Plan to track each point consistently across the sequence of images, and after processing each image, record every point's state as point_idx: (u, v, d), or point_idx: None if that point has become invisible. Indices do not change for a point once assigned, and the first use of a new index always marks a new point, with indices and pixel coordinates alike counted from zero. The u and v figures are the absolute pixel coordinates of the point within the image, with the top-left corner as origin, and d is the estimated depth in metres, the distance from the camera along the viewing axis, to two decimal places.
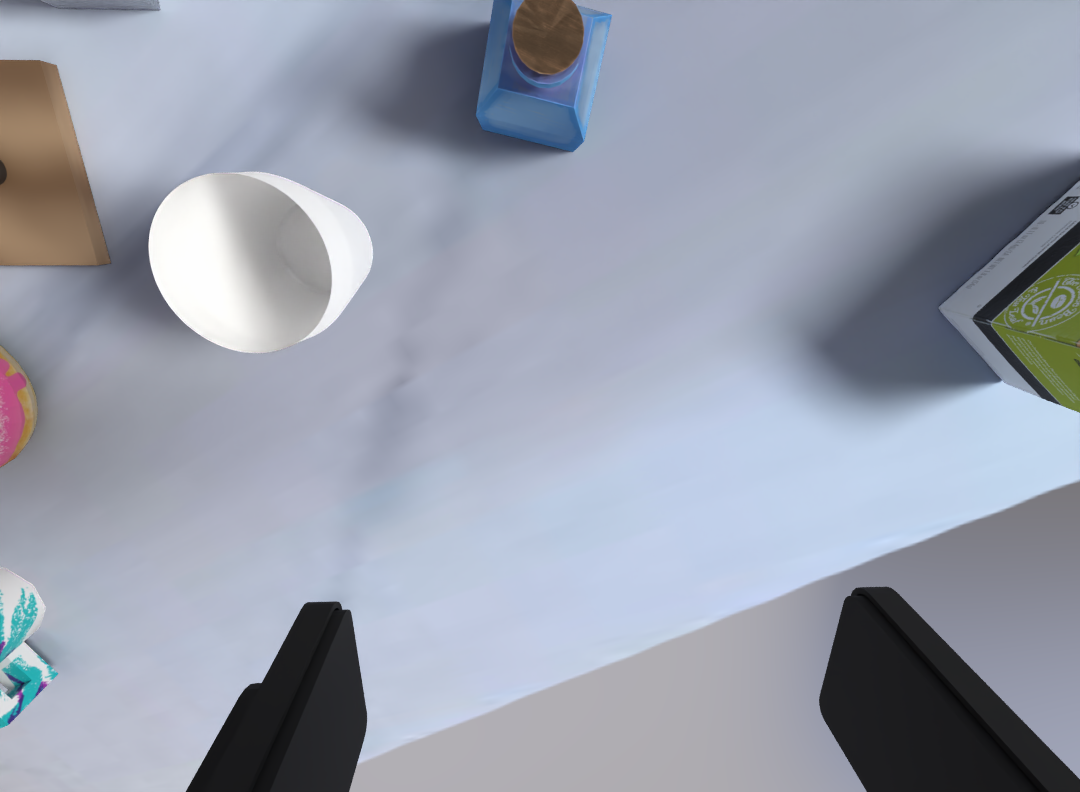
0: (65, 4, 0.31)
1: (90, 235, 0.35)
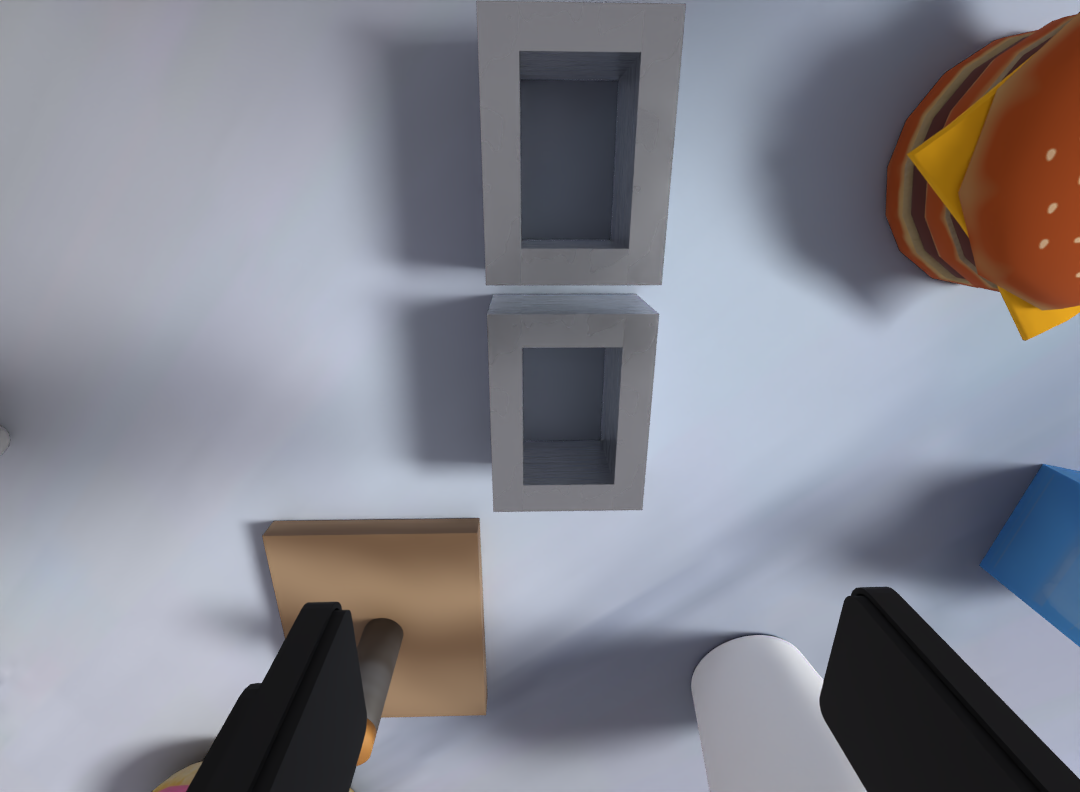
0: None
1: (484, 687, 0.28)
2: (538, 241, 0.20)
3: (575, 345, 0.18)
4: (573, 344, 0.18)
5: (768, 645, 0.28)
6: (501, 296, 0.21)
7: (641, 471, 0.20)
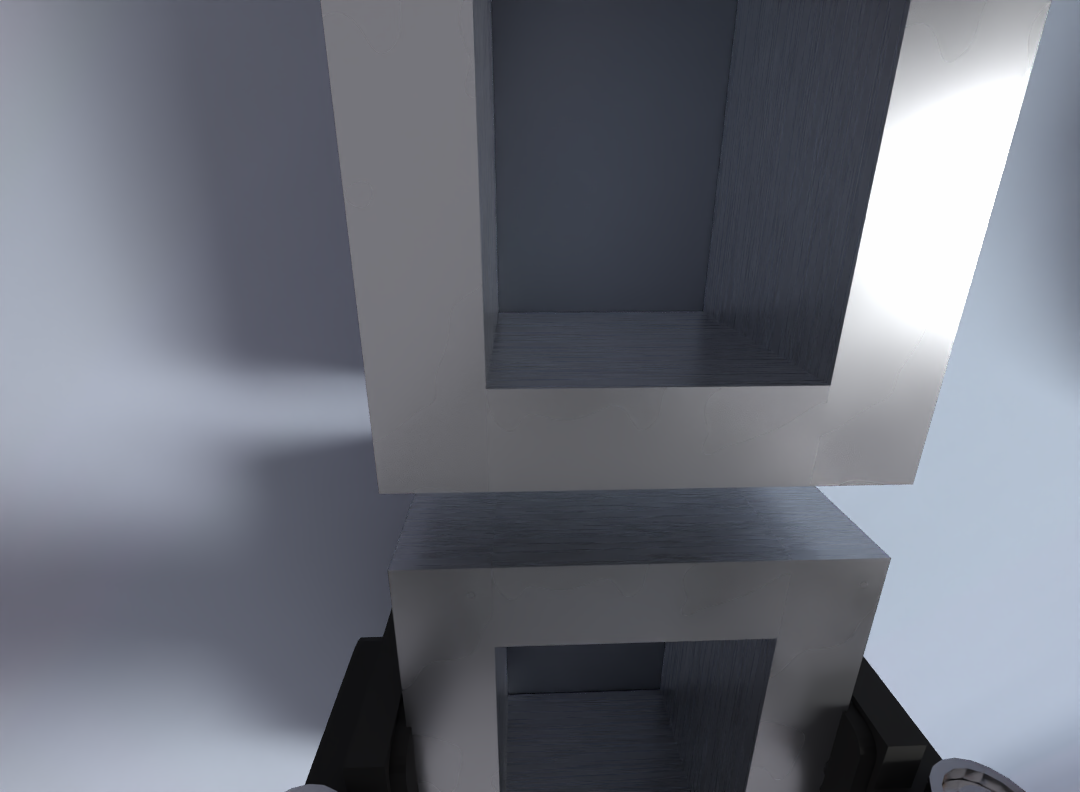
0: None
1: None
2: (538, 324, 0.08)
3: (646, 637, 0.07)
4: (640, 636, 0.07)
5: None
6: None
7: None
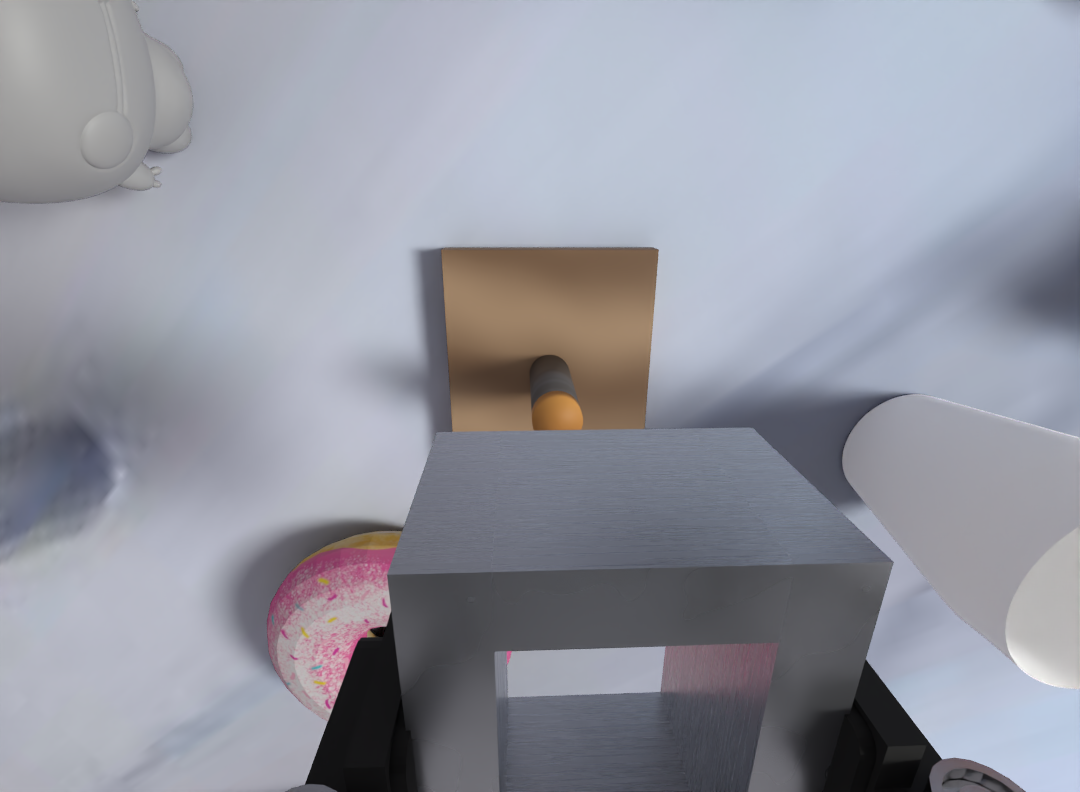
0: None
1: None
2: None
3: (646, 641, 0.07)
4: (640, 641, 0.06)
5: (931, 397, 0.27)
6: (453, 443, 0.09)
7: None
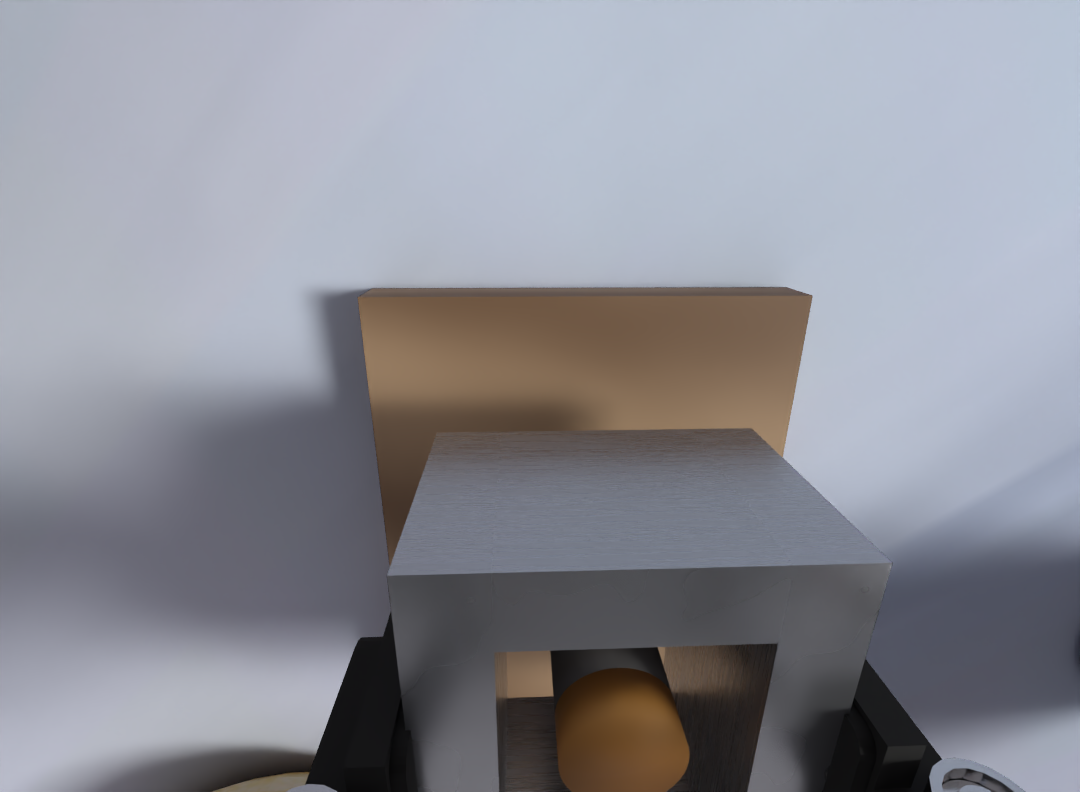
0: None
1: None
2: None
3: (646, 642, 0.07)
4: (640, 641, 0.07)
5: None
6: (453, 443, 0.09)
7: None
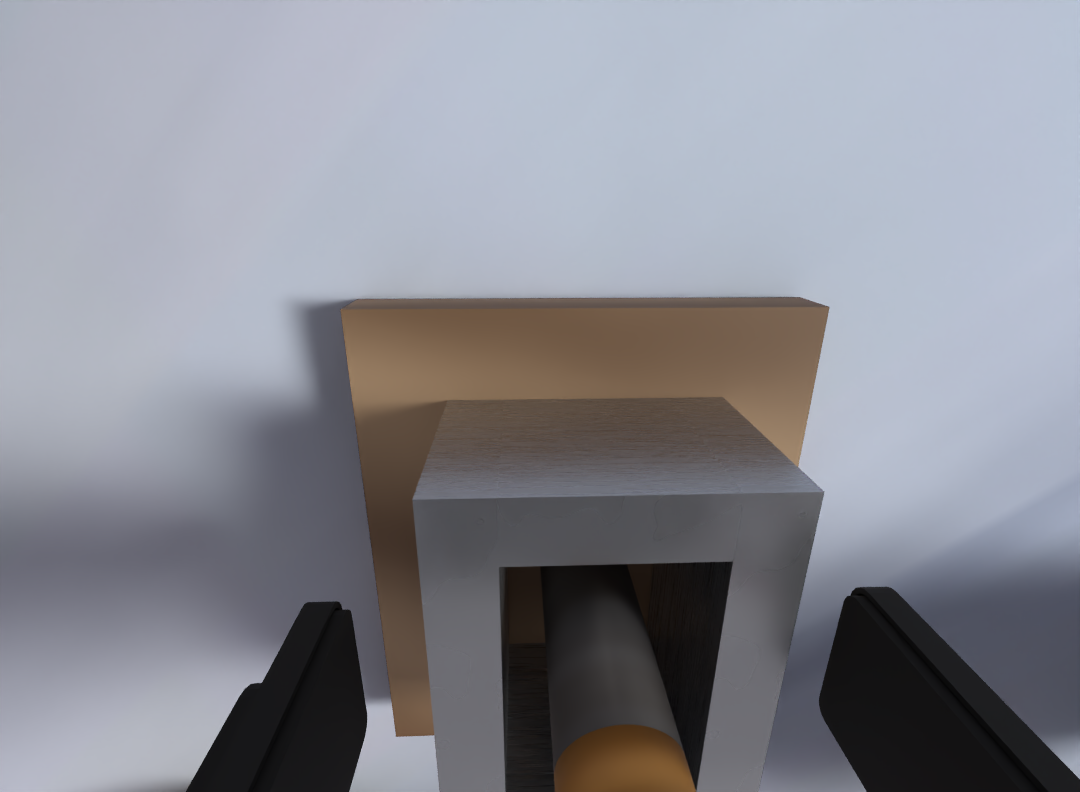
0: None
1: None
2: None
3: (624, 559, 0.08)
4: (618, 559, 0.08)
5: None
6: (462, 408, 0.11)
7: (752, 781, 0.10)
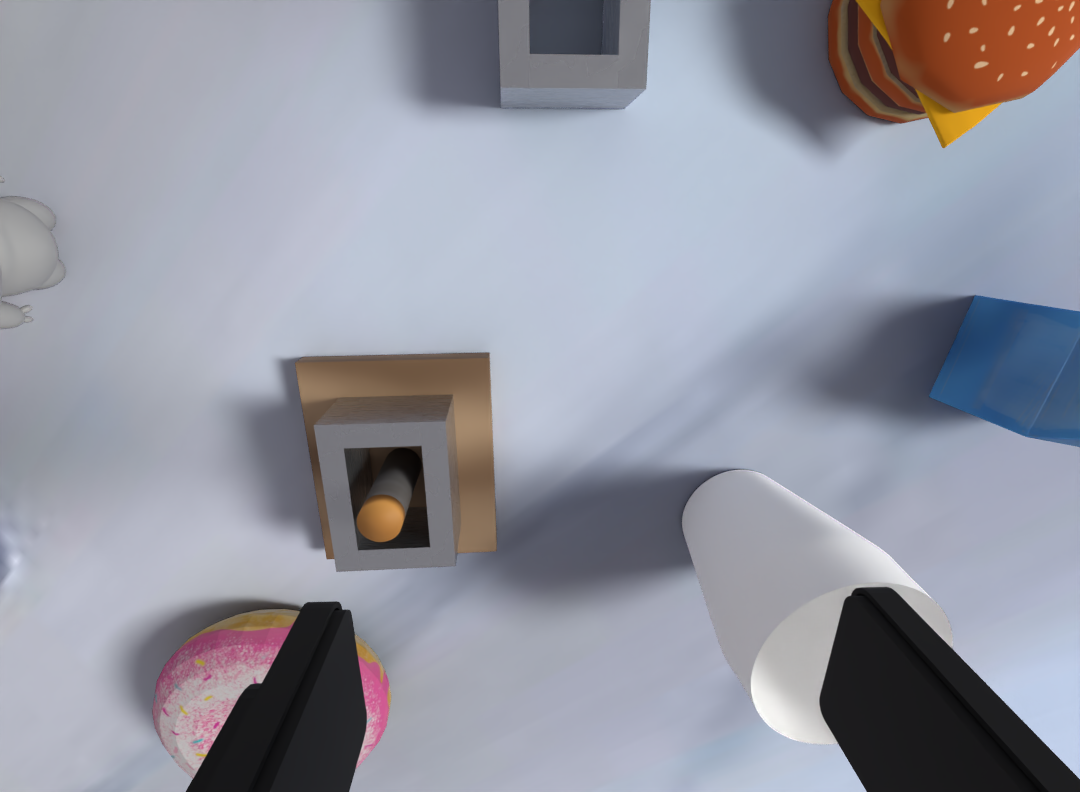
0: None
1: (495, 522, 0.31)
2: None
3: (385, 445, 0.24)
4: (383, 445, 0.24)
5: (749, 474, 0.31)
6: (343, 400, 0.27)
7: (450, 536, 0.26)
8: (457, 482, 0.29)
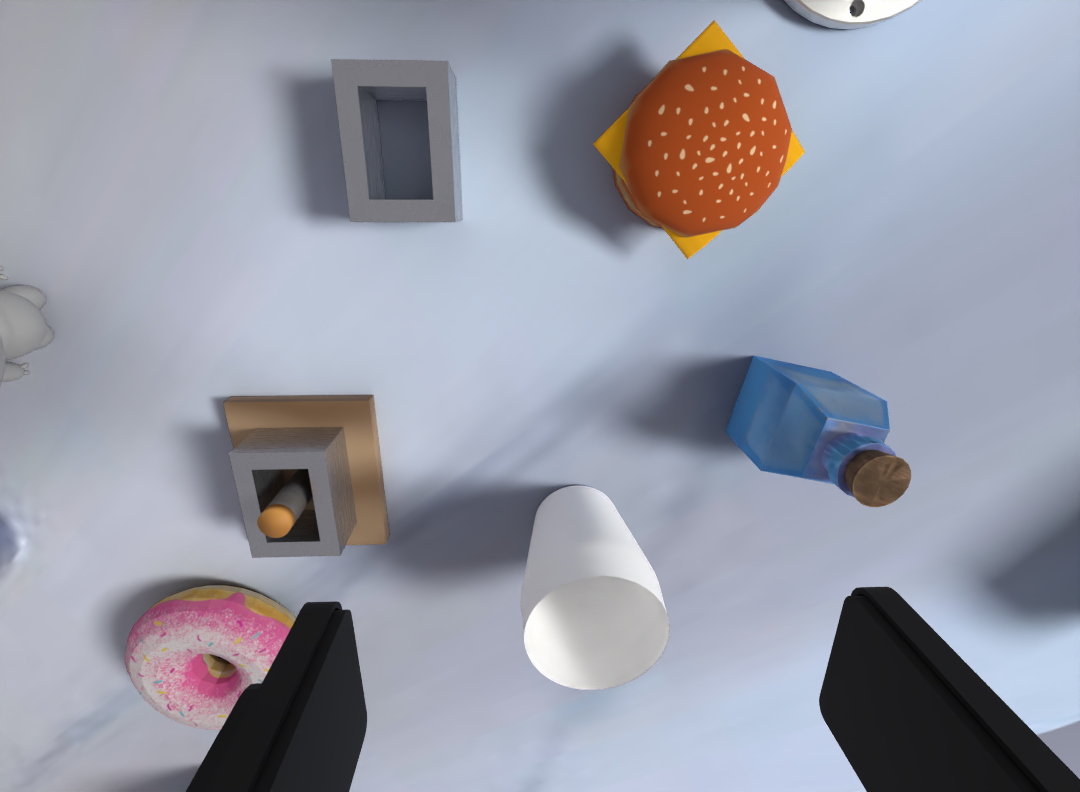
0: None
1: (383, 522, 0.40)
2: None
3: (281, 468, 0.34)
4: (279, 467, 0.34)
5: (581, 489, 0.40)
6: (259, 430, 0.36)
7: (334, 534, 0.36)
8: (349, 492, 0.38)
